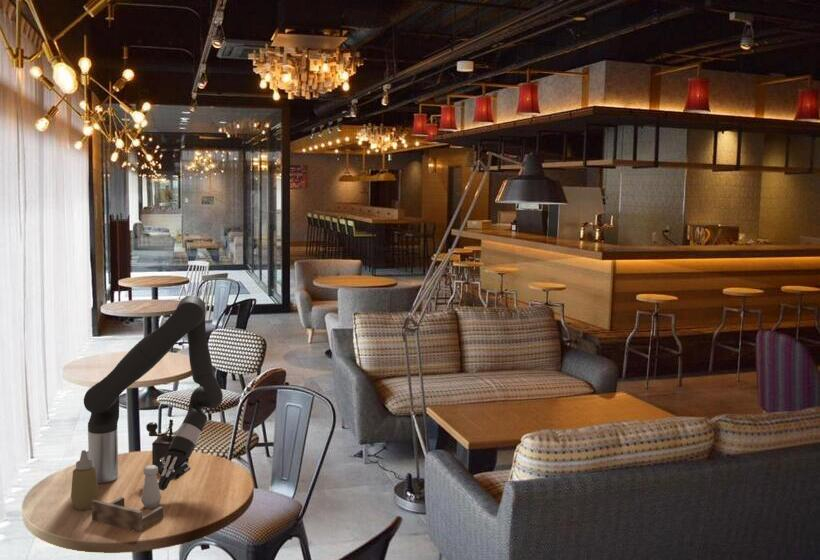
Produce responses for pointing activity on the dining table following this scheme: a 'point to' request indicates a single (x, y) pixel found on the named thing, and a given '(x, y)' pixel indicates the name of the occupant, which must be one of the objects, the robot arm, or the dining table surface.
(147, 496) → the salt shaker
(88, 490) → the squeeze bottle
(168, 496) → the dining table surface
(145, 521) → the walnut bay
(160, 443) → the manual coffee grinder
